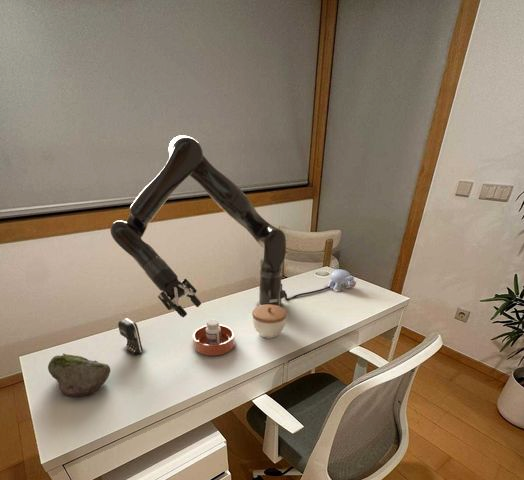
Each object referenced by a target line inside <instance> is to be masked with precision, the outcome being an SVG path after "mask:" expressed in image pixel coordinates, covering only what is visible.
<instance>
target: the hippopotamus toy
mask: <svg viewBox="0 0 524 480" xmlns="http://www.w3.org/2000/svg"><path fill="white" fill-rule="evenodd" d="M332 267H333V271H332V272H331V274H330V280H329V281H328V284H327V286H326V287H329V286H331V287H330V288H329V289H331V290H333V291H334V292H340V291H341V288H342V286H343V288H345V289H350V288H355V287H356V285H357V281H356V280H354V279H355V276H354V275H352V276H351V273H350V272H349V271H347V270H345V269H339V268H338V269H337V267H336V266H335V265H332ZM335 283H336V284H335ZM334 285H335V286H334Z"/></svg>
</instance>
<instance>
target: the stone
mask: <svg viewBox="0 0 524 480" xmlns="http://www.w3.org/2000/svg"><path fill="white" fill-rule="evenodd" d="M47 370H48V373H49V374H50V375H51V377H52V378H53V379H55V381H56V382H57V383H58V388H59V391H60V394H62V395H63V396H66V397H70V398H71V397H84V396H89V395H91V394H94V393H95V392H96V391H97V390H98V389H99V388H100V387H101V386H102V385H104V384H105V382H106V381H107V379H108V377H109V376H110V373H111V366H110V365H108V364H107V363H103V362H99V361H97V360H92V359H91V360H89V359H88V358H86V357H84V356H80V355H73V354H67V353H62V355H55V356H53V357H52V358H51V359H50V361H49V363H48V365H47Z"/></svg>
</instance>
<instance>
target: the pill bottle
mask: <svg viewBox="0 0 524 480" xmlns="http://www.w3.org/2000/svg"><path fill="white" fill-rule="evenodd" d="M219 325H220V324H219V320H217V319H209V320H208V321H206V326H207V328H206V339H207V344H208V345H216V344H221V343H222V338H221V328H220V327H219Z"/></svg>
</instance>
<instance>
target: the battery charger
mask: <svg viewBox="0 0 524 480" xmlns="http://www.w3.org/2000/svg"><path fill="white" fill-rule="evenodd" d="M117 324H118V325H117V326H118V331H119V334H120V336H122V337H124V338H125V339H126V346H125V349H126V350H127V351H129V352H130V353H132V354H133V355H138V354H142V353H143V351H144V350H143V345H142V341H141V336H140V331H139V328H138V325H137V323H136V322H134V321H133V320H132V319H130V318H129V317H127V318H124V319H121V320H119V321H118V323H117Z"/></svg>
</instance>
